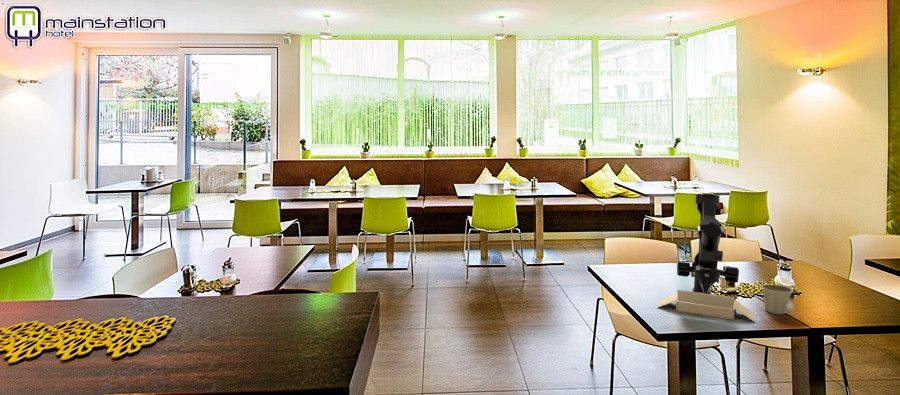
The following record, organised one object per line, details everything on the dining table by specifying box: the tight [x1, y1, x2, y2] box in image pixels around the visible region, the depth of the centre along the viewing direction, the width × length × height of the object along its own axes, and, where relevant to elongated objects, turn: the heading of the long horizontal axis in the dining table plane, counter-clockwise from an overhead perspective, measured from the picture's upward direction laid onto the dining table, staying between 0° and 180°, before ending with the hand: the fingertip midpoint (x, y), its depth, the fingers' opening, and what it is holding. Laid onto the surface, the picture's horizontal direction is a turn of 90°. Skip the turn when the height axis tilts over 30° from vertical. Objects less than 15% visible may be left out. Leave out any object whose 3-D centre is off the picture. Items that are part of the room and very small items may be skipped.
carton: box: [657, 292, 756, 323], centre depth 186 cm, size 16×30×4 cm, turn 62°
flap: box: [676, 289, 735, 309], centre depth 176 cm, size 1×17×7 cm
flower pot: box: [761, 284, 794, 315], centre depth 184 cm, size 9×9×9 cm
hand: (705, 293), depth 174 cm, fingers closed, pressing on flap
